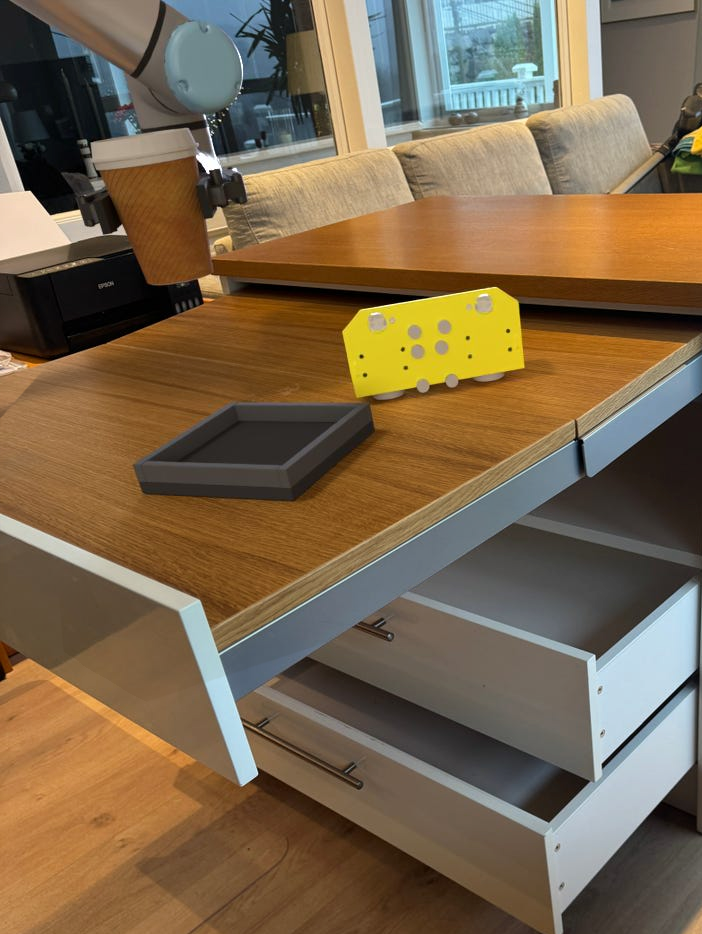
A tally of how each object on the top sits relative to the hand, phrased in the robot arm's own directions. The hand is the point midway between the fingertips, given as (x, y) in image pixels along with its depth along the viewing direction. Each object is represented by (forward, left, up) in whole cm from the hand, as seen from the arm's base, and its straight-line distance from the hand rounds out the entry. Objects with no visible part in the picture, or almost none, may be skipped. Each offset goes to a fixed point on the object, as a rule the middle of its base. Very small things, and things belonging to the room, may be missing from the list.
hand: (153, 209), depth 78 cm
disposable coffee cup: (-2, +4, -7) cm, 8 cm away
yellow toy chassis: (+22, +7, -18) cm, 29 cm away
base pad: (+14, -12, -18) cm, 26 cm away
